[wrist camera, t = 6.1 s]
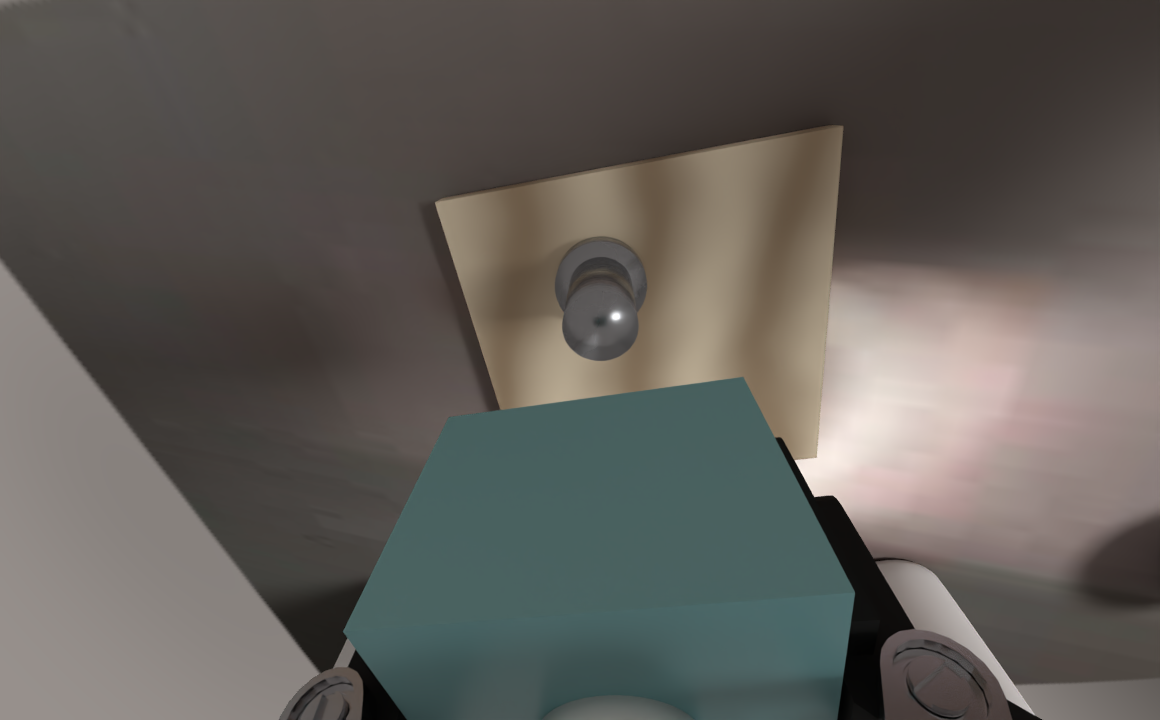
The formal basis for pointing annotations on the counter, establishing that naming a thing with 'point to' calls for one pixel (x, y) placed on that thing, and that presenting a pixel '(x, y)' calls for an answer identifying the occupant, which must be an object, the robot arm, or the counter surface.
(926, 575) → the milk bottle
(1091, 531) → the counter surface
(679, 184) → the board
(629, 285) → the stud
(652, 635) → the teal knob cube
